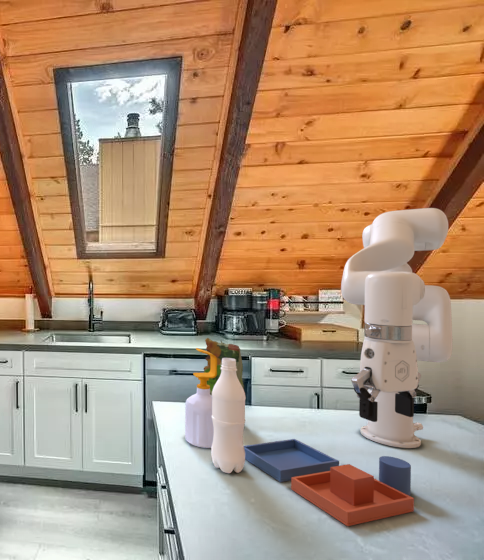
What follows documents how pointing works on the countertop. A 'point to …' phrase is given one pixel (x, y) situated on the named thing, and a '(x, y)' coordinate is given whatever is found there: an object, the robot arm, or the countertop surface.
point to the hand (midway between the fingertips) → (386, 417)
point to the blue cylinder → (395, 473)
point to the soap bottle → (201, 409)
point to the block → (352, 484)
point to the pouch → (221, 352)
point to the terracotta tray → (320, 495)
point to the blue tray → (288, 459)
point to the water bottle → (228, 419)
